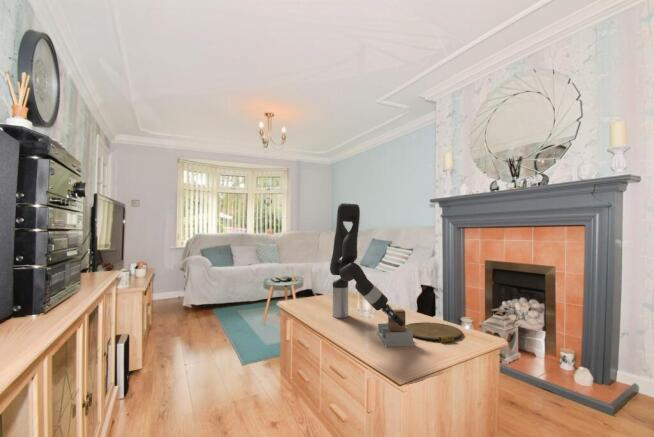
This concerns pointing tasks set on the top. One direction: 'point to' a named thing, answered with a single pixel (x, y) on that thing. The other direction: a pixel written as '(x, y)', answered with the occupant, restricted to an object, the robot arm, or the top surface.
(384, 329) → the rack
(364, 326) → the top surface
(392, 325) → the brown rectangular block
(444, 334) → the decorative disc
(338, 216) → the robot arm
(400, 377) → the top surface
